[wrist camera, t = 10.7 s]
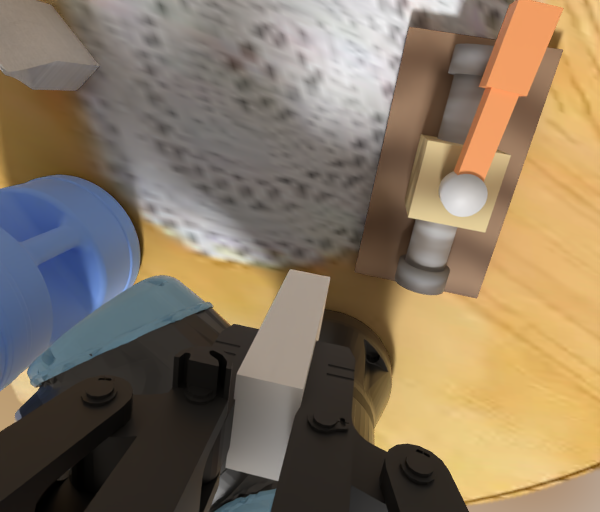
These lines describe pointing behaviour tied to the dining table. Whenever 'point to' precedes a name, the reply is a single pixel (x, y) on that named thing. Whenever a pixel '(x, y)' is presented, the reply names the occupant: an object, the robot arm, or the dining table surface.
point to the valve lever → (499, 100)
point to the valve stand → (442, 166)
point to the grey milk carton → (41, 47)
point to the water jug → (57, 262)
